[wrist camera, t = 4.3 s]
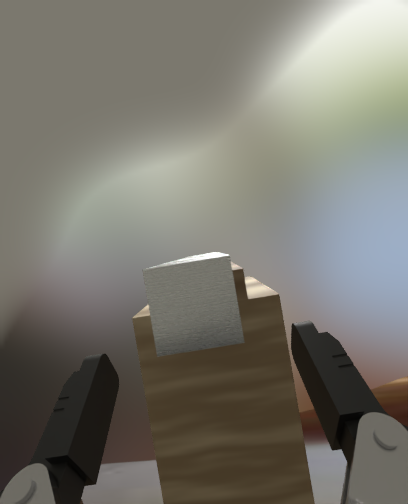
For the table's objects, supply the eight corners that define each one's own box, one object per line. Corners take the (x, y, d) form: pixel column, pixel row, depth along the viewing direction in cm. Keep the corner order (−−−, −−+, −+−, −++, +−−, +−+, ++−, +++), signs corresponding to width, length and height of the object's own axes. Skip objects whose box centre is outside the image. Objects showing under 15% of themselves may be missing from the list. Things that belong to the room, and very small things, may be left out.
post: (377, 721, 19) (299, 260, 19) (177, 744, 19) (101, 294, 19) (297, 497, 36) (257, 256, 36) (193, 512, 36) (152, 273, 36)
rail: (244, 342, 11) (229, 255, 11) (157, 356, 11) (142, 269, 11) (221, 278, 37) (216, 252, 37) (194, 283, 37) (189, 256, 37)
